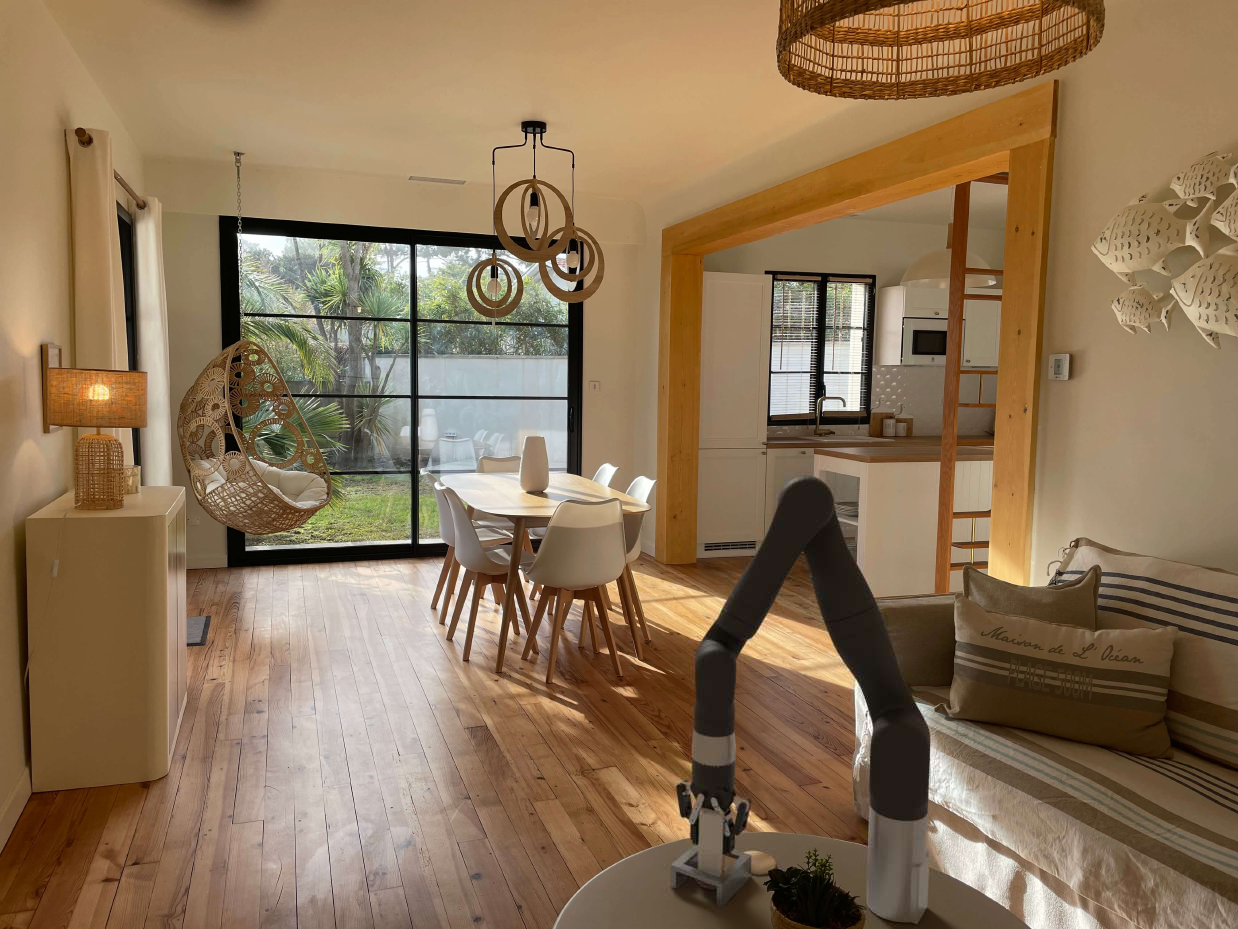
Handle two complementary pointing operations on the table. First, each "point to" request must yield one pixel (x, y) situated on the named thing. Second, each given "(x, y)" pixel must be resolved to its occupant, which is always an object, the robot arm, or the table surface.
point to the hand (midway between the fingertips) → (711, 847)
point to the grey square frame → (725, 882)
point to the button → (706, 884)
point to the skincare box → (711, 842)
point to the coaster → (761, 862)
